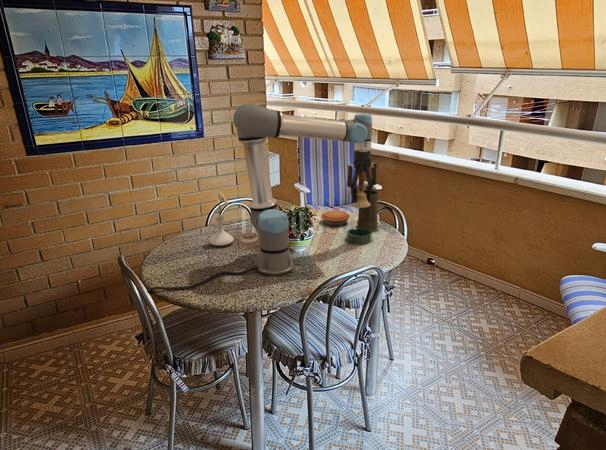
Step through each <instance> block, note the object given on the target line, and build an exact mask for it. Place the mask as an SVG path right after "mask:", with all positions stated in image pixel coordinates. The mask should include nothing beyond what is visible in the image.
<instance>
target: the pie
mask: <svg viewBox="0 0 606 450" xmlns="http://www.w3.org/2000/svg"><path fill="white" fill-rule="evenodd" d="M320 216H321V219H322V220H323V222H324V223H325V224H326V225H330V226H342V225H345V224H346V223H347V222H348V220H349V219H350V218H351V214H349V213H348V212H345V211H343V210H329V211H325V212H324V213H323V212H322V213H321V215H320Z"/></svg>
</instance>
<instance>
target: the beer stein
mask: <svg viewBox="0 0 606 450" xmlns="http://www.w3.org/2000/svg"><path fill="white" fill-rule="evenodd" d="M363 192H364V193H366V189H363ZM378 198H379V192H378V191H377V190H373V189H372V193H370V201H368V202H369V203H370V206H369V207H365V208H358V215H357V216H358V217H357V222H356V223H357V225H356V228H364V229H368V230H370V231H371V233H373V232H376V231H378V230H379V227H378Z"/></svg>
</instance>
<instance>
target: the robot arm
mask: <svg viewBox="0 0 606 450" xmlns="http://www.w3.org/2000/svg"><path fill="white" fill-rule="evenodd" d="M233 124H234V126H235V128H236V133H237V138H238V142H239V143H241V144H242V145H243V151H244V156H245V163H246V169H247V176H248V180H249V187H250V193H251V202H250V203H249V209H250V213H249V219H250V223H251V225H252V227H253V228H254V229H255V231H256V232H257V233H258V236H259V254H258V258H257V262H256V266H254V267H251V268H248V269H245V270H242V271H230V270H229V271H220V272H217V273H214V274H212V275H210V276H209V277H207V278H205V279H203V280H201V281H199V282H197V283H194V284H191V285H185V286H153V287H150V288H148V290H147V291H146V293H147V292H148V293H147V294H149V293H150V292H152V291H155V290H166V291H169V290H170V291H171V290H174V291H175V290H187V289H192V288H196V287H198V286H200V285H202V284H204V283H206V282H208V281H210V280H212V279H214V278H216V277H218V276H220V275H244V274H246V273H248V272H251V271H254V270H257V272H258V273H260V274H261V275H264V276H273V277H274V276H282V275H283V276H284V275H287V274H289V273H291V272H292V271H293V270H294V269H295V262H294V259H293V257H292V256H294V255H295V254H294V252H293V251H292V250H290V244H289V243H290V241H289V240H290V239H289V217H288V215H287V213H286V212H284V211H283V210H279V207H278V202H277V200H276V199H275V198H274V196H273V192H272V184H271V177H270V170H269V169H270V168H269V162H268V157H267V149H266V143H265V142H266V141H267V139H268V138H279V137H281V136H286V137H298V138H307V139H315V140H316V139H317V140H318V139H319V140H328V141H337V142H338V141H340V142H345V143H347V142H348V143H352V144H353V150H354V151H353V162H352V163H351V164H347V165H346V167H347V168H346V169H347V177H346V187H348V188H350V195H351V196H352V199H351V201H352V202H353V203H356V195H357V187H356V185H357V182H358V180H359V174H360V172H362V171H363V172H364V176H365V179H366V183H367V185H366V186H365V187H366V189H365V190H366V196H367V200H368V201H370V193H372V190H373V188H374V186H376V185H377V167H378V163H376V162H372V160H371V159H372V151H371V150H372V137H373V135H372V133H373V132H372V131H373V117H372V114H370V113H356V114H355V115H354V117H353V119H341V120H340V119H337V120H336V119H335V120H334V119H328V118H327V119H326V118H317V117H310V116H309V117H308V116H300V115H293V114H283V113H282V112H281V111H280V110H275V109H270V108H266V107H263V106H261V105H257V104H254V103H251V102H250V103H243V104H241V105H240V106H239V107H237V108H236V110H235V111H234V114H233ZM370 169H371V170H370ZM353 170H354V171H353ZM370 173H371V174H370Z"/></svg>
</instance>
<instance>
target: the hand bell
mask: <svg viewBox="0 0 606 450" xmlns="http://www.w3.org/2000/svg"><path fill="white" fill-rule="evenodd" d="M365 179H366V176H365V172H364V171H362V172H360V174H359V176H358V183H359V192H358V193H357V192H356V203H354V202H353V203H352V207H354V208H358V209H359V208H365V207H369V206H370V203H369V202H368V200H367V196H366V193H364V192H363V190H364V183H365Z"/></svg>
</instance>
